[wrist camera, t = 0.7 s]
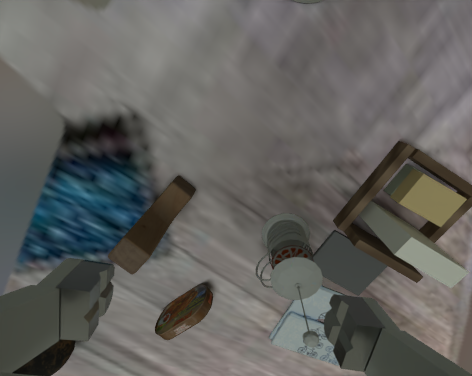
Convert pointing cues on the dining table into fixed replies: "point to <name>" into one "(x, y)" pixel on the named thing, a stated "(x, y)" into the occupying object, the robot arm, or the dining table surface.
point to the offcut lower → (399, 179)
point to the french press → (291, 262)
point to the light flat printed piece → (295, 326)
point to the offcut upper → (427, 197)
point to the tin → (184, 312)
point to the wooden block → (151, 227)
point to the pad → (346, 263)
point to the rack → (374, 185)
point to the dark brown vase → (48, 359)
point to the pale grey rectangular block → (412, 245)
